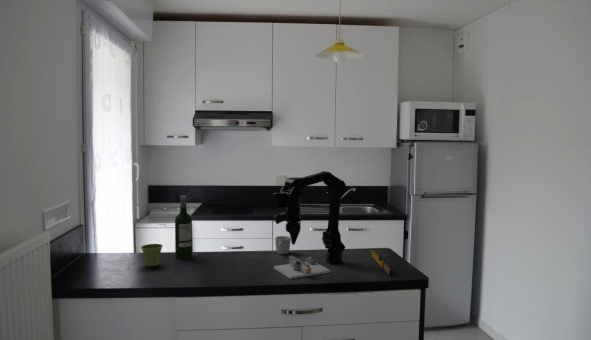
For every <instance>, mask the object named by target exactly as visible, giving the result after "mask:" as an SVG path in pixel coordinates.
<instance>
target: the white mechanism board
mask: <svg viewBox="0 0 591 340" xmlns="http://www.w3.org/2000/svg"><path fill="white" fill-rule="evenodd" d="M304 262H305V263H306V264H308V265H310V268H311V272H310V273H309V274H306V273H304V272H302V271H298V270H294V269H293V266H292V265H290V264H289V263H286V264H281V265H280V264H279V265H274V266H273V269H274V270H276V271H277V272H278V273H279V274H281V275H283V276H285V277H286V278H288V279H289V278H290V279H289V280H293V278H294V279H298V278H304V277H310V276H312V277H313V276H317V275H323V274H330V273H331V269H329V268H327V267H325V266H323V265H321V264H320V263H317V261H316V260H315V259H313V258H312V256H309V257H305V258H304Z"/></svg>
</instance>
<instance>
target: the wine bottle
mask: <svg viewBox="0 0 591 340" xmlns="http://www.w3.org/2000/svg"><path fill="white" fill-rule="evenodd" d="M179 199H180V202H179V203H180V204H179V208H180V209H179V213H178V214H177V215H176V216H175V217H174V218H175V219H174V237H175V238H174V239H175V240H174V243H175V244H174V248H175V250H174V252H175V253H174V255H175V256H174V257H175V258H176V259H180V260H183V259H184V260H185V259H190V258H192V256H193V233H192V232H193V227H192V225H193V220H192V219H193V218H192V216H191V215H190V214H189V213H188V212H187V211H188V210H187V196H186V195H180V198H179Z"/></svg>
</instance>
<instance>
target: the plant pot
mask: <svg viewBox="0 0 591 340" xmlns="http://www.w3.org/2000/svg"><path fill="white" fill-rule="evenodd" d="M162 248H163V244H161V243H149V244H144V245H141V247H140V249H141V250H142V253H143V259H144V265H145V266H146V267H152V266H153V267H156V266H160V262H161V253H162Z"/></svg>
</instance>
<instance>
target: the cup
mask: <svg viewBox="0 0 591 340" xmlns="http://www.w3.org/2000/svg"><path fill="white" fill-rule="evenodd" d="M274 241H275V252H276V253H277V254H278V255H288V254H289V253H290V249H291V248H290V247H291V237H290V236H288V235H287V236H286V235H279V236H276V237H275V238H274Z"/></svg>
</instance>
